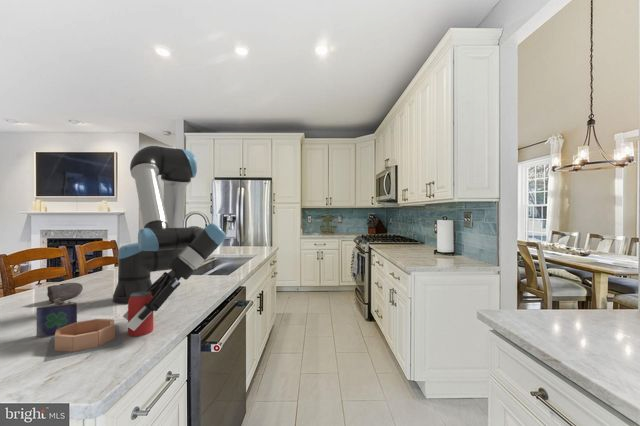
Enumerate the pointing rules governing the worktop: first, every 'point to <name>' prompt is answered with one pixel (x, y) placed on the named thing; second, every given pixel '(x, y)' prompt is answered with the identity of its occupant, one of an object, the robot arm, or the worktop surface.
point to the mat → (54, 354)
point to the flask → (55, 317)
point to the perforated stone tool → (64, 291)
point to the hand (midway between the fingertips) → (128, 323)
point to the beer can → (134, 307)
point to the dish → (84, 335)
